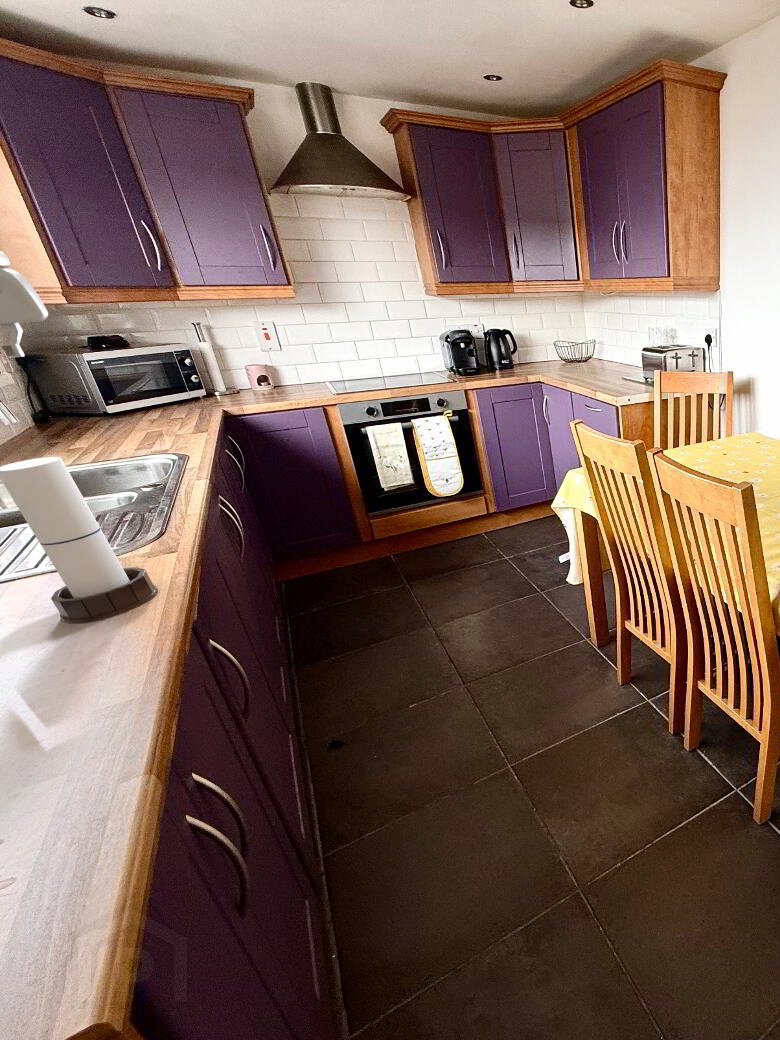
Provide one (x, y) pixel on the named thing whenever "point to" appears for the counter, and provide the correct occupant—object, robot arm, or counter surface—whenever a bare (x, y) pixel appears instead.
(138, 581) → the ring
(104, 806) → the counter surface
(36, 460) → the cylindrical container
